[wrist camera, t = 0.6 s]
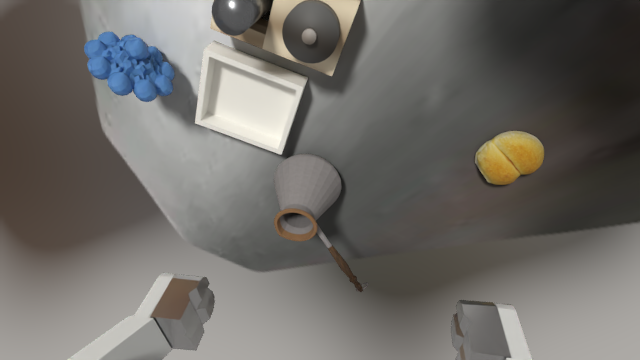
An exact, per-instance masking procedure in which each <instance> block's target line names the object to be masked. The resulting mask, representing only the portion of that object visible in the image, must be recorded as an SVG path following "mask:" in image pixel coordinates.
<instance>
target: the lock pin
mask: <svg viewBox="0 0 640 360" xmlns="http://www.w3.org/2000/svg"><path fill="white" fill-rule="evenodd" d="M273 1H274V0H215V1H214V3H213V6H212V16H213V19H214V22H215V24H216V25H217V27H218V28H219V29H220V30H221V31H223V32H224V33H226V34H228V35H231V36H238V35H241V34H243V33H244V32H245V31H246V30H247V29H249V28H250V27H251V26H252V25H253V24H254V23H255V22H257V21H258V20H259V19H260V18H261V17H262V16H263V15H265V14H266V13H267V12H268V11H269V10H270V9H271V8H272V5H273Z"/></svg>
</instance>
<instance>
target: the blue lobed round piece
mask: <svg viewBox="0 0 640 360" xmlns="http://www.w3.org/2000/svg"><path fill="white" fill-rule="evenodd" d="M84 50H85V53H86V55H87V56H88V58H89V62H88V69H89V71H90V72H91V74H92V75H93V76H94V77H96V78H98V79H101V80H104V79H108V80H107V81H108V86H109V87H110V89H111V90H112V91H113V92H114V93H115V94H117V95H121V96H123V95H128V94H129V93H131V92H132V90H133V92H134V94H135V95H136V97H137V98H139V99H140V100H141V101H145V102H149V101H152V100H154V99H155V98H156V96H157V95H160V96H168V95H169V94H171V93H172V90H173V85H172V82H171V80H173V79H174V76H175V74H174V70H173V68H172V66H171V65H170V64H169V63H168V62H162V61H163V57H162V54H161V53H160V51H159V50H158V49H157V48H156V47H153V46H150V47H147V45H146V44H145V42H144V41H143V40H142V39H140V38H137V37H136V36H135V35H126V36H124V37H122V39H121V41H120V39H119V38H118V36H117V35H115V34H114V33H113V32H104V33H102V34H100V35H99V37H98V40H90V41H89V42H87V43H86V44H85V47H84Z"/></svg>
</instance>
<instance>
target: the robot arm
mask: <svg viewBox="0 0 640 360" xmlns="http://www.w3.org/2000/svg"><path fill="white" fill-rule="evenodd" d="M208 285H209V281H208V279H207V278H206V277H199V276H189V275H180V274H171V273H162V274H161V275H160V276H159V277H158V278H157V280H156V281H155V283H154V284H153V286H152V288H151V289H150V291H149V293H148V294H147V296H146V297H145V299H144V301H143V302H142V304H141V305H140V307H139V309H138V310H137V312H136V313H135V315H134V316H132V315H131V316H129V317H127V318H126V319H124V320H123V321H121V322H120V323H119V324H117V325H116V326H115V327H113V328H111V329H110V330H109V331H107V332H106V333H104V334H103V335H102V336H100V337H99V338H97V339H96V340H94V341H93V342H92V343H90V344H89V345H87V346H86V347H85V348H83V349H82V350H80V351H79V352H77V353H76V354H75V355H73V356H72V357H70V358H69V359H68V360H162V359H163V358H164V357H165V356H166V355H167V354H168V353H169V352H170V351H171V350H172V348H174V349H185V350H197V347H198V345H199V343H200V340H201V338H202V336H203V333H204V328H203V324H204V323H205V322H207V321H208V320H209V319H210V317H211V315H212V312H213V308H214V302H215V301H214V294H213V292H212V291H211V290H210V289H209V288H208ZM456 309H457V313H456V314H454V315H453V318H452V324H451V325H452V326H451V336H452V343H453V346H454V348H455V349H456V350H457V351H458V354H457V357H456V360H533V359H532V356H531V353H530V350H529V347H528V344H527V342H526V338H525V335H524V332H523V329H522V327H521V324H520V321H519V318H518V315H517V312H516V309H515V308H514V307H513V305H511V304H498V303H492V302H479V301H466V300H459V301H458V302H457V305H456Z"/></svg>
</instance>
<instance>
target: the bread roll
mask: <svg viewBox="0 0 640 360" xmlns="http://www.w3.org/2000/svg"><path fill="white" fill-rule="evenodd" d="M543 159H544V148H543V145H542V144H541V142H540V141H539V140H538V138H536V137H535V136H533V135H531V134H529V133H526V132H521V131H508V132H504V133H502V134H499V135H497V136H495V137H494V138H493V139H492V140H490V141H488V142H486V143H485V144H483V145H482V146H481V147H480V148H479V150H478V151H477V153H476V155H475V163H476V165H477V166H478V168H479V170H480V171H481V173H482V174H483V175H484V177H485V179H486V180H487V182H488V183H493V184H496V185H506V184H510V183H512V182H514V181H515V180H516V179H517V178H518V177H519V176H520V175H521V174H530V173H533V172H535V171H536V170H537V169H538V168H539V167H540V166H541V164H542V162H543Z"/></svg>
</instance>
